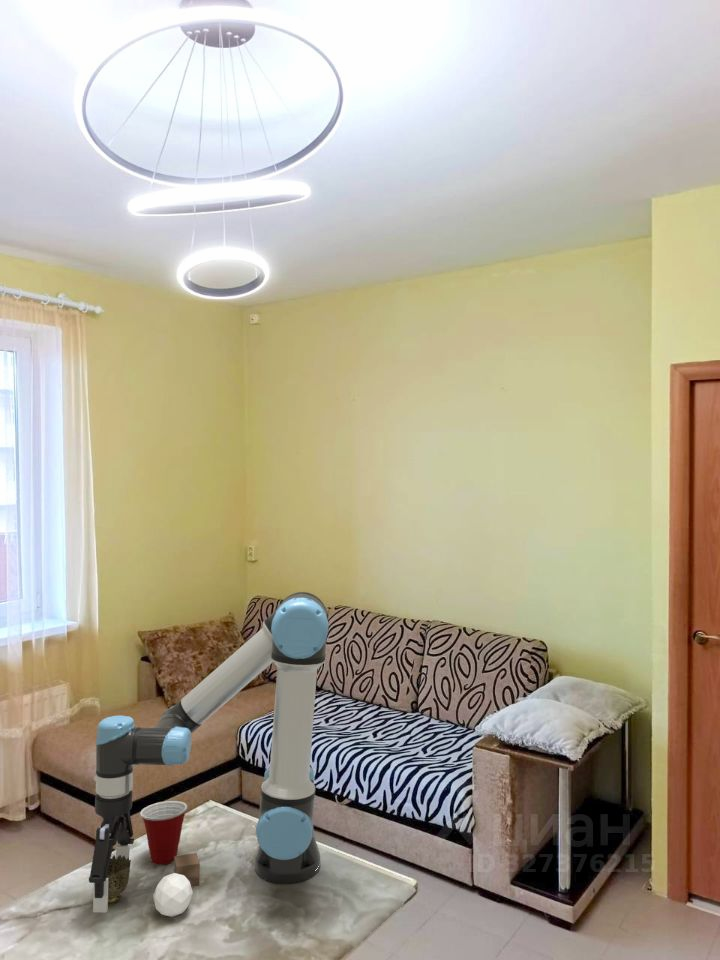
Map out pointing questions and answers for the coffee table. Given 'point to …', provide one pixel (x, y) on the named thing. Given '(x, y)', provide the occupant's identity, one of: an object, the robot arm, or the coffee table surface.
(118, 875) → the ornate bell
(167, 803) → the plastic cup
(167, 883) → the geometric ball
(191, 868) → the walnut block
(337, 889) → the coffee table surface
